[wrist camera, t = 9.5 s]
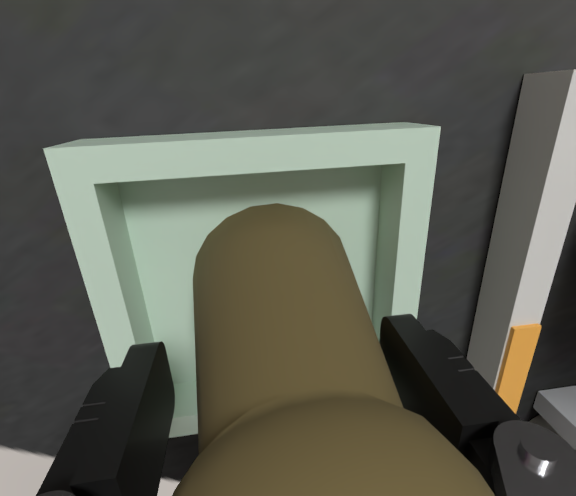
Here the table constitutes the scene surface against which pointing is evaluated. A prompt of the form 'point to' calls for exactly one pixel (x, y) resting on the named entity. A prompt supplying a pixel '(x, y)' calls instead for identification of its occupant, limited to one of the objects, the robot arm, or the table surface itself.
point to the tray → (225, 202)
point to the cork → (301, 374)
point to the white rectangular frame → (529, 246)
